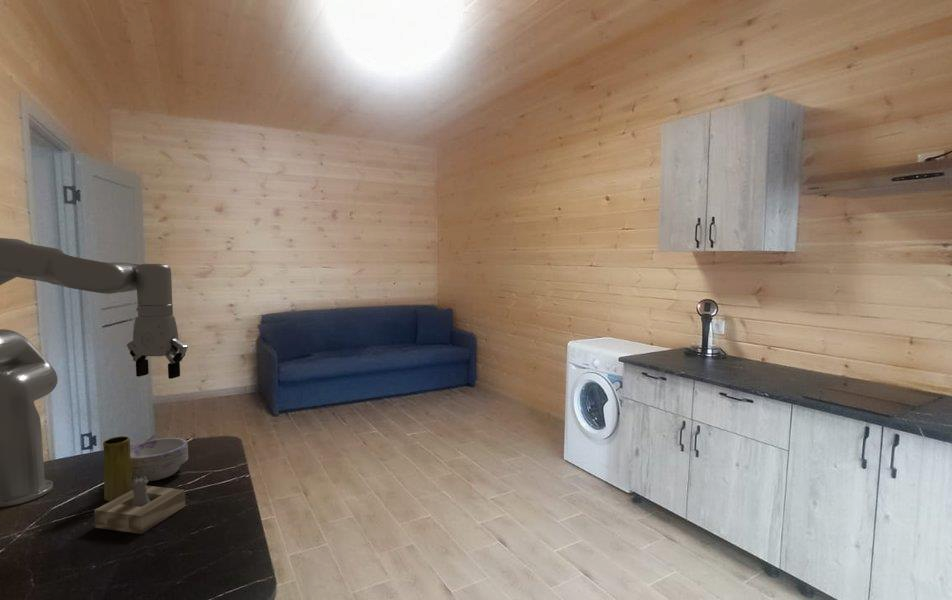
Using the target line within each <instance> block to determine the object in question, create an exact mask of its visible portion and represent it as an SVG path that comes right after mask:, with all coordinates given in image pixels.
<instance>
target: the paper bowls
mask: <svg viewBox="0 0 952 600" xmlns="http://www.w3.org/2000/svg"><path fill="white" fill-rule="evenodd" d="M130 456H131V469H132V477H133V479H135V478H138V479H139V477H141V476H142V478H143V477H144V476H145V477H146V479H147V480H148V482H155V481H160V480H163V479H166V478H170V477H171V476H173V475H175V474H176V473H177V472H178V471H179V469H180V467H181V465H183V464H185V463H186V462H187V461H188V459H189V445H188V441H187V440H186V439H185V438H180V437H164V438H162V437H161V438H156V439H152V440H151V439H150V440H146V441H143V442H138V443H137V444H133V445H130Z"/></svg>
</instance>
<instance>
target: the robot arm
mask: <svg viewBox="0 0 952 600" xmlns="http://www.w3.org/2000/svg"><path fill="white" fill-rule="evenodd" d="M16 278H20V279H26V280H32V281H37V282H38V281H39V282H44V283H49V284H51V285H56V286H60V287H64V288H68V289H73V290H79V291H85V292H92V293H97V294H107V295H109V294H110V295H111V294H118V293H125V292H133V291H134V292H135V291H136V301H137V307H135V308H136V309H135V310H136V312H137V316H136V317H135V319H134V324H133V331H132V341H130V342H128V343H126V347H127V348H128V351H129V354H130V355H131V356H132V359H133V361H134V362H135V376H136V377H138V378H140V377H143V376H146V375H149V374H150V373H149V371H150V369H149V359H147V357H165V358H166V359H167V361H168V362H169V363H167V376H168V379H169V380H171V379H176V378H180V376H181V362H182V361H183V359H184V357H185V356H186V354H187V350H188V345H186V344H185V343H183V342H182V341H180V340H179V334H178V325H177V321H176V318H175V316H174V311H173V310H174V309H173V308H174V307H173V287H172V285H173V283H172V269H171V267H170V265H168V264H165V263H141V264H139V263H138V264H137V263H130V262H105V261H100V260H99V261H97V260H93V259H87V258H83V257H82V258H81V257H76V256H72V255H70V254H66V253H64V252H63V250H61V249H59V248H55V247H49V246H43V245H37V244H33V243H29V242H28V241H24V240H21V239H18V238H17V239H16V238H5V237H0V286H1V285H4V284H6V283H7V282H9V281H12V280H13V279H16ZM57 385H58V374H57V372H56V370H55V368H54V367H53V366H52V365H51V363H49V362H48V360H47V359H46V358H45V357H44V356H43V354H41V352H40V351H39V350H38V349H37V348H36V347H35V346H34V345H33V344H32V342H31V341H30V340H29V339H27V337H25V336H24V335H23V334H21V333H19V332H17V331H15V330H13V329H5V328H4V329H3V328H2V329H1V328H0V508H4V507H5V508H6V507H10V506H16V505H21V504H24V503H28V502H31V501H33V500H36V499H39V498H40V497H43V496H45V495H47V494H48V493H50V492H51V491H52V490H53V488H54V482H53V481H52V480H49V479H45V468H44V467H45V465H44V464H45V463H44V451H43V450H44V449H43V436H42V435H43V433H42V432H43V431H42V422H41V421H42V420H41V417H40V413H39V411H38V409H37V407H36V405H35V401H37V400H40V399H41V398H44V397H46V396H48V395H49V394H51V393H52V392H53V391H54V390H55V388H56V387H57Z"/></svg>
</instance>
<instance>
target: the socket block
mask: <svg viewBox="0 0 952 600" xmlns="http://www.w3.org/2000/svg"><path fill="white" fill-rule="evenodd" d="M146 486H147V487H148V488H147V495H148V498H149V499H150V501H151V502H149V503H147V504H146V505H144V506H142V507H138V506H131V505H132V503H133V498H134V492H133V490H132V491H130V492H128V493H126V494H124V495H122V496H120V497H118V498H116V499H114V500H113V501H108V502H107V503H104V504H103V505H101V506H100V507H98V508H96V509H94V528H95V529H104V530H112V531H118V532H125V533H126V532H127V533H132V534H140V535H141V534H144V533H145V532H147V531H148V530H151V528H153V527H155V526H157V525H158V524H160V523H161V522H163V521H164V520H166V519H168V518H170V516H172V515H174V514H175V513H177V512H178V511H180V510H182V509H183V508H185V507H186V490H185V489H179V488H173V487H172V488H170V487H161V486H152V485H146Z"/></svg>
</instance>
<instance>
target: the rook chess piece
mask: <svg viewBox="0 0 952 600" xmlns="http://www.w3.org/2000/svg"><path fill="white" fill-rule="evenodd" d="M148 483H149V481H148V480H147V479H146V477H145V476H144V477H143V478H142V476H141V477H139V479H138V478H135V479H134V478H133V482H132V484H131V485H132V486H133V488H134V489H133V492H134V498H133V503H132V505H131V506H138V507H142V506H144V505H146V504H147V503H149V502H151V501H150V499H149V498H148V495H147V488H148V487H147V486H148V485H147V484H148Z"/></svg>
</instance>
